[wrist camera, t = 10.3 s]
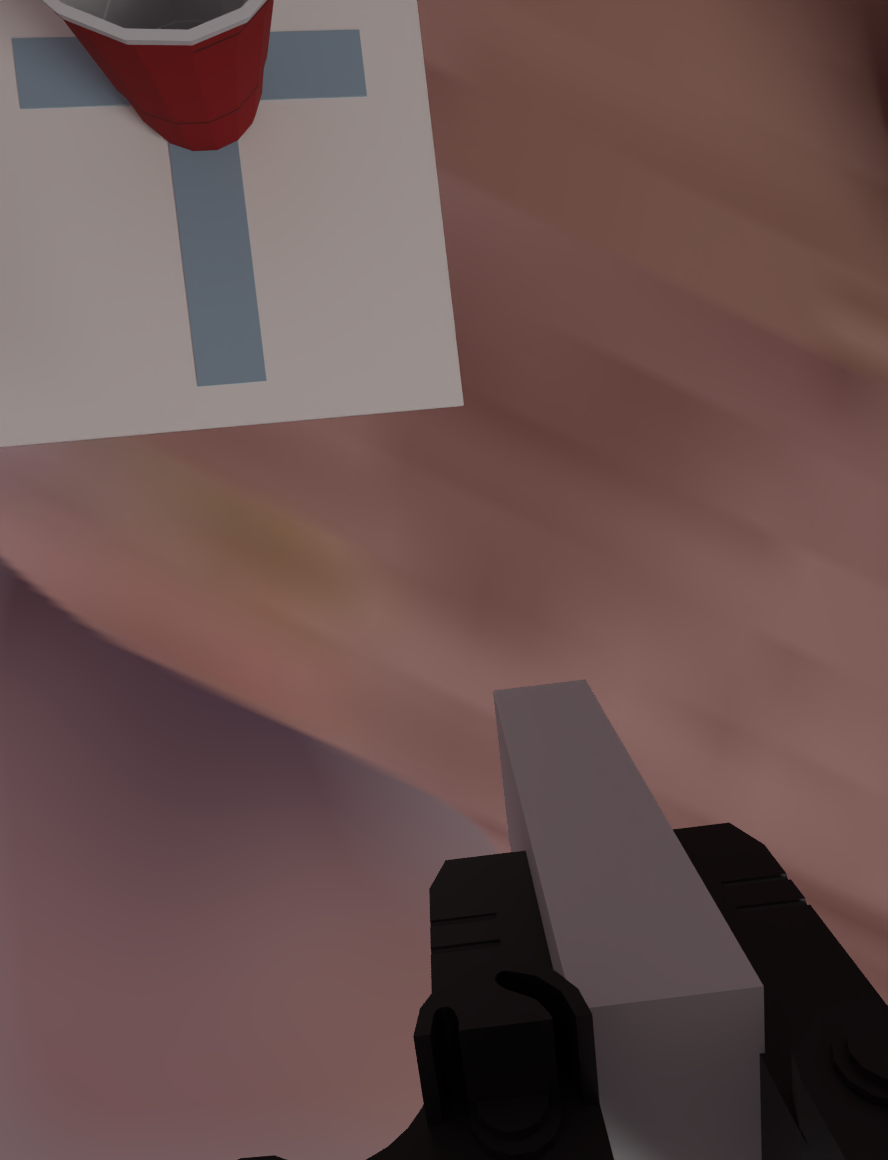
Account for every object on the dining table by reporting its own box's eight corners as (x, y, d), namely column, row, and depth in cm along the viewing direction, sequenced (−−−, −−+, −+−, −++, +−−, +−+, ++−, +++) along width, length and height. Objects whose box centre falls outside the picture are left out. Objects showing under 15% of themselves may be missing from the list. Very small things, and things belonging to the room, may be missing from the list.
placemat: (411, -39, 38) (412, -42, 38) (463, 406, 38) (464, 405, 38) (-66, -32, 35) (-68, -35, 35) (-6, 447, 35) (-7, 447, 35)
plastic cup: (253, 251, 37) (209, 93, 25) (40, 133, 35) (-115, -93, 23) (357, 58, 37) (363, -187, 25) (151, -64, 36) (55, -383, 24)
